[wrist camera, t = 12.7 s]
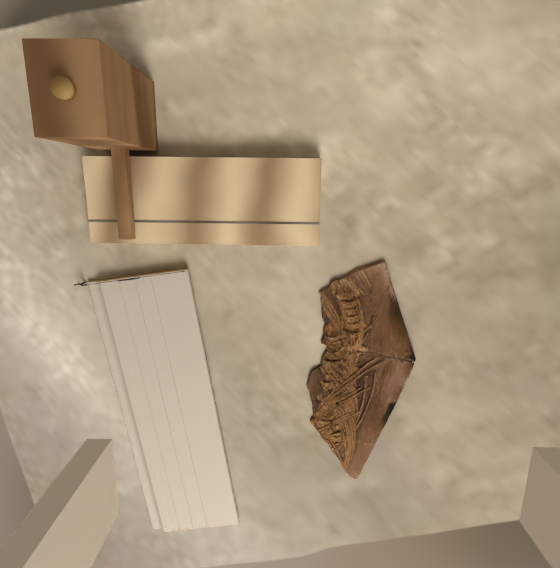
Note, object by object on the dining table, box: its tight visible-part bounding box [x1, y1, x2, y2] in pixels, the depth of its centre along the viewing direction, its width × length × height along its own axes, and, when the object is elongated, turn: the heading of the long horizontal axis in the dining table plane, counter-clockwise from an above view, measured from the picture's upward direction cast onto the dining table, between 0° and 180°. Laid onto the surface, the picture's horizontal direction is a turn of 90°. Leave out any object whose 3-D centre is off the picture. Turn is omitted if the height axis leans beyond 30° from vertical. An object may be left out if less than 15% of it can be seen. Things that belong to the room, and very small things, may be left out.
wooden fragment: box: [307, 260, 415, 479], centre depth 43 cm, size 26×11×1 cm, turn 174°
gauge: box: [22, 39, 158, 240], centre depth 32 cm, size 5×14×12 cm, turn 0°
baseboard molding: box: [75, 268, 239, 532], centre depth 43 cm, size 31×3×12 cm
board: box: [82, 156, 322, 246], centre depth 38 cm, size 22×8×2 cm, turn 89°
